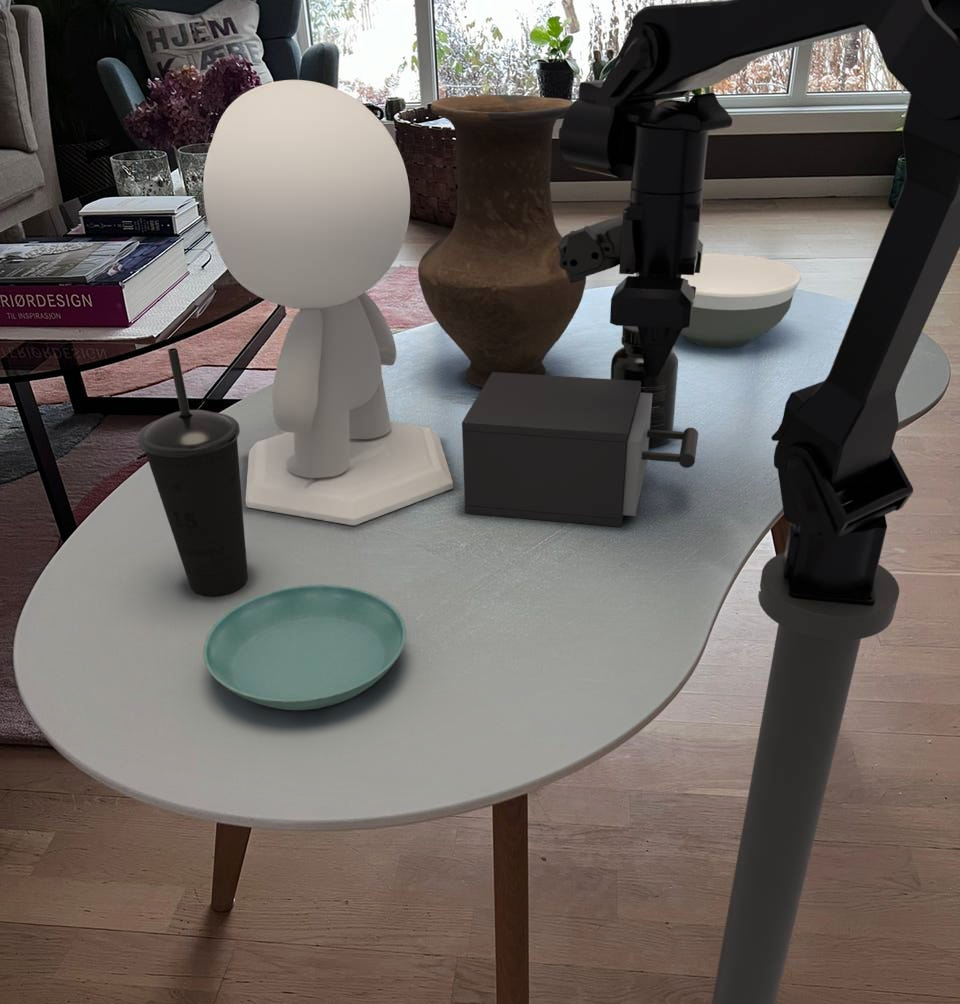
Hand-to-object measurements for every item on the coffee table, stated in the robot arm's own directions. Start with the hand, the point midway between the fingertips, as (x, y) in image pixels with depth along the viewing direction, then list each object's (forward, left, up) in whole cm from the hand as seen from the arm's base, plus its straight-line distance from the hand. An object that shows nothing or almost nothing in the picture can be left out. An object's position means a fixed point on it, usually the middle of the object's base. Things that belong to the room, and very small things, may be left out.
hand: (652, 375), depth 91 cm
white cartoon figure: (+30, 0, -12) cm, 32 cm away
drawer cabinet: (+9, 0, -12) cm, 15 cm away
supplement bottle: (+2, -14, -12) cm, 19 cm away
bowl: (-5, -48, -12) cm, 50 cm away
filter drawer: (+5, 0, -11) cm, 12 cm away
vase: (+20, -29, -12) cm, 37 cm away
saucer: (+22, +32, -12) cm, 41 cm away
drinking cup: (+34, +22, -12) cm, 42 cm away
